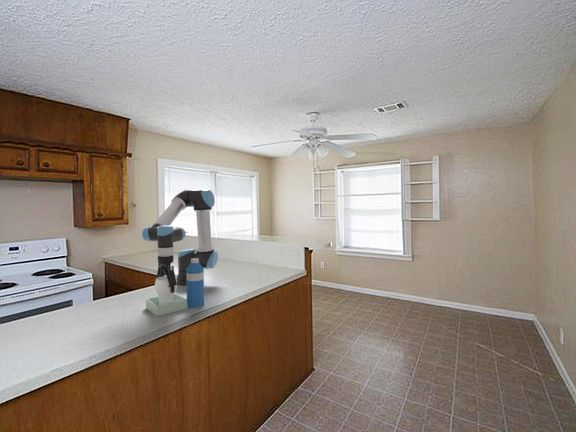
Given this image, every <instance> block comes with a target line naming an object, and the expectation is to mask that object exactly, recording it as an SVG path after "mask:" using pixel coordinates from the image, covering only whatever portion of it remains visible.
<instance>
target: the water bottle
mask: <svg viewBox="0 0 576 432" xmlns="http://www.w3.org/2000/svg"><path fill="white" fill-rule="evenodd" d="M204 270H205V268H203V267H202V266H201V264H200V263H199V258H193V259H191V263H190V265H189V266H188V267H187V269H186V274H187V285H186V299H187V308H188V307H189V308H193V309H194V308H199V307H202V306H203V305H205V286H204V285H205V281H204V280H205V279H204V278H205V276H204V275H205V271H204Z"/></svg>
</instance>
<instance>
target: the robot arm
mask: <svg viewBox="0 0 576 432" xmlns="http://www.w3.org/2000/svg"><path fill="white" fill-rule="evenodd" d="M215 202H216V201H215V196H214V193H213V192H212V190H211V189H208V188H205V189H204V188H197V189H195V188H194V189H191V188H189V189H185V190H183V191H181V192H179V193H177V194H176V195H175V196H173V198H172V199H171V201H170V204H169V205H168V206H167V208H166V209H165V210H164V211H163V213H162V214H161V215H160V216H159V217H158V218H157V220H156V221H155V222H154V223H153V224H152V226H151V227H150V226H148V227H145V228H144V229H142V231H141V236H142V239H143V240H144V241H147V242H157V249H156V252H157V263H158V267H157V271H156V275H155V276H156V277H155V278H158V277H162V276H167V279H168V282H169V286H168V287H169V299H173V298H175V293H176V291H175V285H177V286H183V287H184V286H187V274H186V269H187V267H188V266H189V265H190V263H191V259H193V258H199V263H200V264H201V266H202V267H203V269H207V270H208V269H214V268H215V267H216V265H217V262H218V258H219V254H218V252H217V251H215V248H214V247H213V245H212V230H211V227H212V226H211V211H212V210H213V209H212V208H213V207H214V206H215ZM186 208H193V211H194V212H195V215H196V229H197V230H196V231H197V242H198V247H197V248H187V249H183V250H182V249H181V250H179V251H178V253H177V262H178V265H177V267H178V268H177V269H178V270H177V271H178V273H177V276H176V274H175V268H174V267H175V266H174V265H171V264H172V263H174V262H175V261H174V243H175V242H180V241H183V240H184V239H185V237H186V230H185V229H184V228H182V227H173V225H171V224H172V223H173V222H174V221H175V220H176V218H177V217H178V215H179V214H180V213H181V212H182V211H184V210H185V209H186ZM175 277H176V278H175ZM176 280H177V282H176Z"/></svg>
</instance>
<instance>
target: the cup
mask: <svg viewBox="0 0 576 432" xmlns="http://www.w3.org/2000/svg"><path fill="white" fill-rule="evenodd" d="M155 278H156V277H155ZM175 278H177V276H175ZM176 282H177V280H176ZM168 286H169V282H168V279H167V276H166V275H165V276H162V277H158V278H156V279H155V281H154V289H155V292H156V293H157V296H159V305H162V304H166V303H171V302H174V300H173V299H169V287H168ZM177 287H178V285H175V292H176V290H177Z"/></svg>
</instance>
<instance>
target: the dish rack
mask: <svg viewBox="0 0 576 432" xmlns="http://www.w3.org/2000/svg"><path fill="white" fill-rule="evenodd" d="M173 300H174V302H171V303H166V304H162V305H159V296H158V295H157V296H153V297H148V298H146V299H145V309H146V310H148V311H149V312H151V313H152V314H153V315H154V316H156V317H160V316H164V315H167V314H171V313H175V312H179V311H182V310H186V309H188V307H187V297H184V296H182V295H180V294H178V293H177V292H175V298H173Z"/></svg>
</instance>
